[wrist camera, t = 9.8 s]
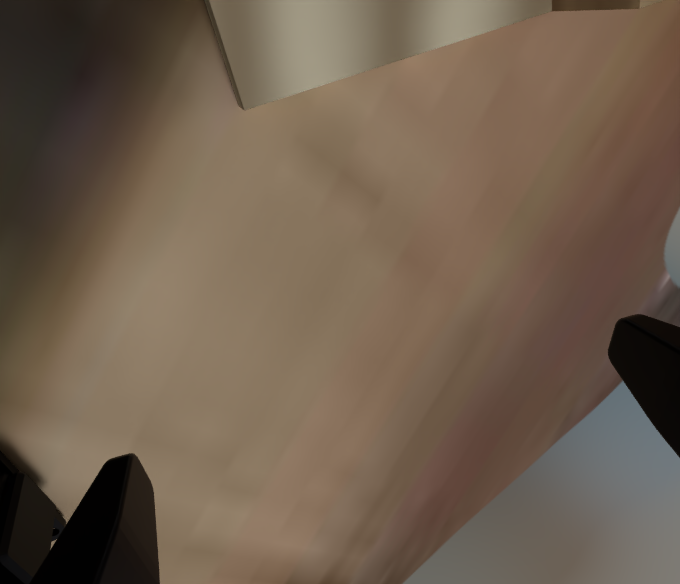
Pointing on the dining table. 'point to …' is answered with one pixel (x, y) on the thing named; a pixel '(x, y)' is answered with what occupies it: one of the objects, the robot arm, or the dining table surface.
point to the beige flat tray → (353, 36)
